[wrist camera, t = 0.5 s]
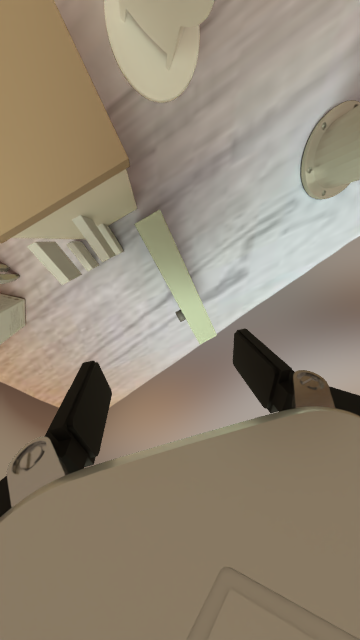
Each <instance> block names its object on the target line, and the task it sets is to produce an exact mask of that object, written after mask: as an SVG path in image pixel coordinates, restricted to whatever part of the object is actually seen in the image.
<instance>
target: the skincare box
mask: <svg viewBox="0 0 360 640" xmlns="http://www.w3.org/2000/svg"><path fill="white" fill-rule="evenodd" d="M25 325H26V322H25V299H21V298H18V297H13V296H9V295H4V294H0V345H1V344H2V343H3V342H4V341H6V340H7V339H8V338H10V337H11V336H12V335H13V334H15V333H16V332H17V331H19V330H20V329H21V328H23V327H24V326H25Z"/></svg>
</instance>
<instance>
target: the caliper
mask: <svg viewBox="0 0 360 640" xmlns="http://www.w3.org/2000/svg"><path fill="white" fill-rule="evenodd" d="M9 269H10V267H8V266H7V265H3V264H0V272H3V271H4V272H7V271H8V270H9ZM19 277H20V276H19V275H18V274H0V284H5V283H8V282H12V281H15V280H17V279H18V278H19Z"/></svg>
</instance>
